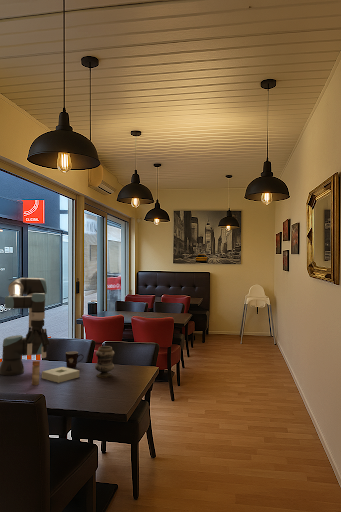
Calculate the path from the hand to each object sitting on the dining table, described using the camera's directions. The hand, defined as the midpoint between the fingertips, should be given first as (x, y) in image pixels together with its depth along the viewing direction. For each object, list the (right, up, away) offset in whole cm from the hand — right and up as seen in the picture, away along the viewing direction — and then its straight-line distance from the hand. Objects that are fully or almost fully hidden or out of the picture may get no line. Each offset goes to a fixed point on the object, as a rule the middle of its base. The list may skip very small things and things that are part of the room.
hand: (36, 356), depth 217 cm
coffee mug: (+11, -19, +40) cm, 46 cm away
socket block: (+10, -17, +14) cm, 24 cm away
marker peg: (0, -16, -1) cm, 16 cm away
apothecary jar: (+36, -18, +20) cm, 45 cm away
